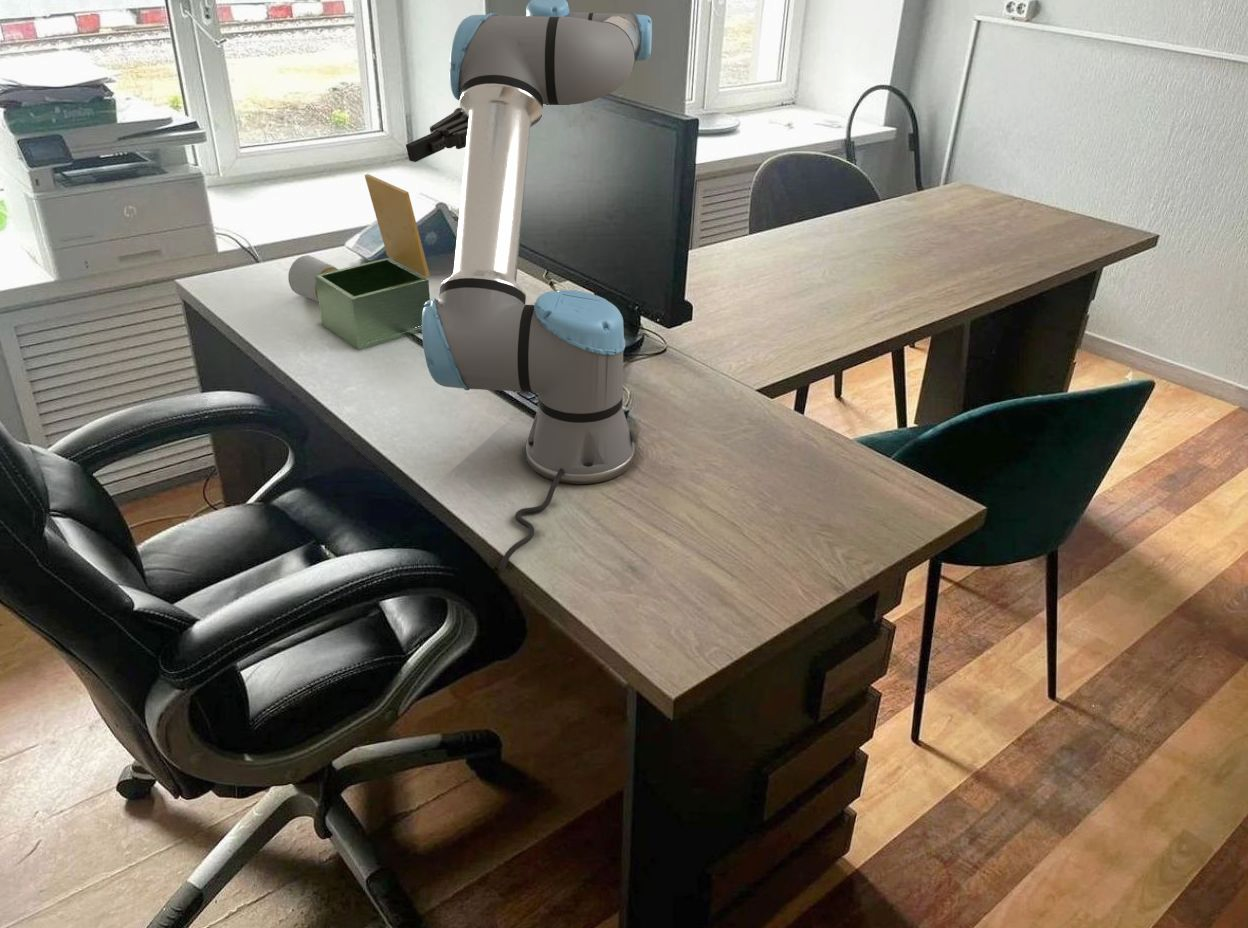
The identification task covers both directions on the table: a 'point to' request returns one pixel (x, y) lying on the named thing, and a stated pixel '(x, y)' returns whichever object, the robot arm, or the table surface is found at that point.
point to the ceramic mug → (307, 275)
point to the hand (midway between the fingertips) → (410, 153)
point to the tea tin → (372, 302)
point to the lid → (397, 224)
